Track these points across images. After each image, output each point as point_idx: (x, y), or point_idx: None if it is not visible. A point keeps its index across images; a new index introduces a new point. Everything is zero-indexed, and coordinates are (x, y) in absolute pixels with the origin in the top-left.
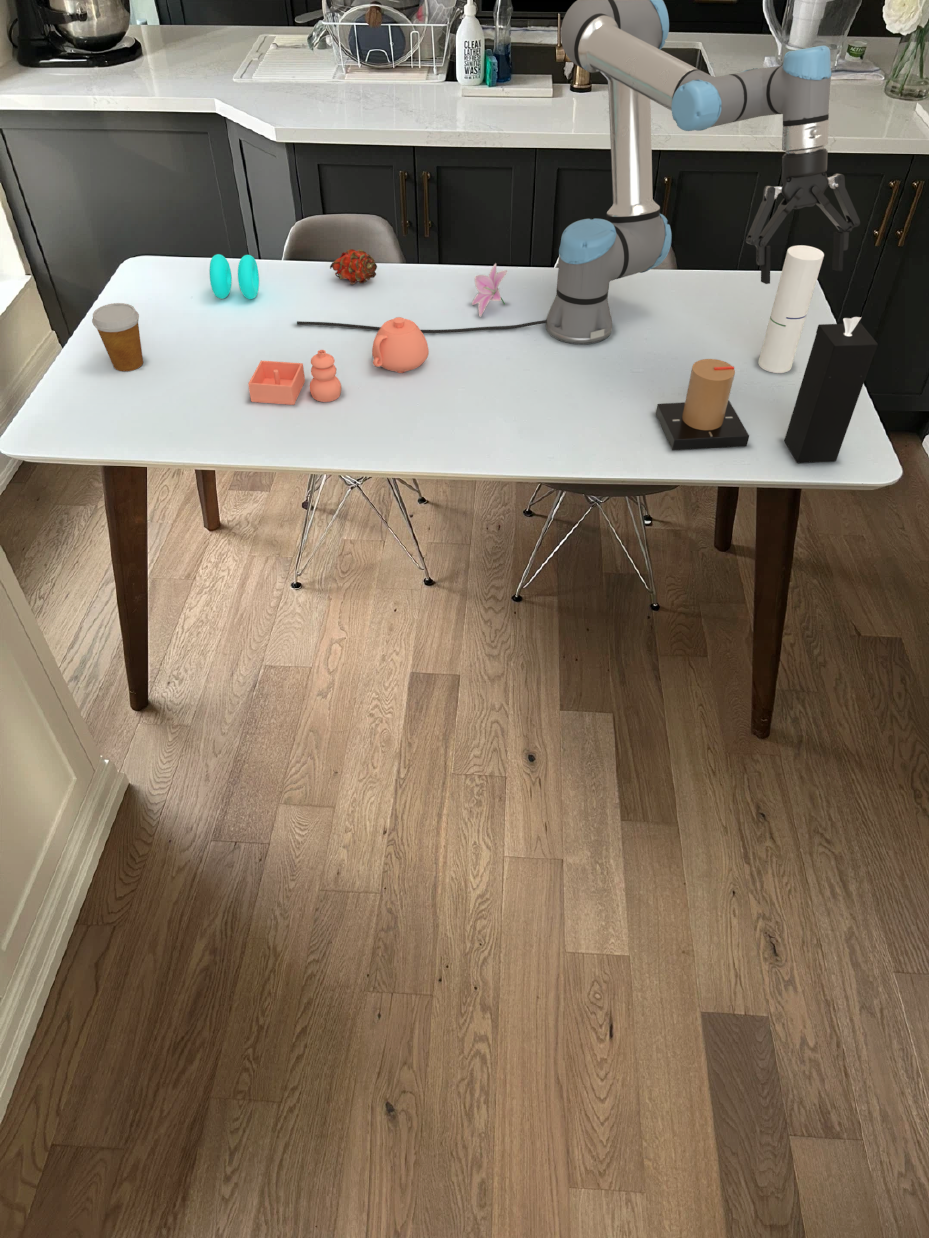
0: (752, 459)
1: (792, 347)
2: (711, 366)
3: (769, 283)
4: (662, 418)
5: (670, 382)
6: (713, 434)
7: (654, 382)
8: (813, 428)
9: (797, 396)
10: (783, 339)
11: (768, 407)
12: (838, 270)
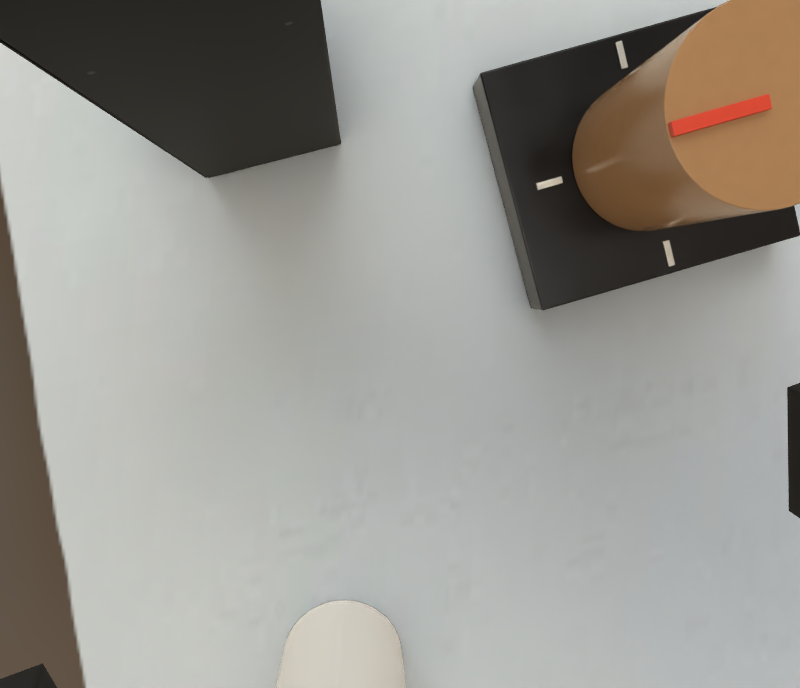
0: (456, 9)
1: (298, 669)
2: (777, 129)
3: (795, 387)
4: None
5: (715, 460)
6: (610, 58)
7: (770, 449)
8: None
9: (333, 93)
10: (344, 678)
11: (381, 360)
12: (41, 674)
